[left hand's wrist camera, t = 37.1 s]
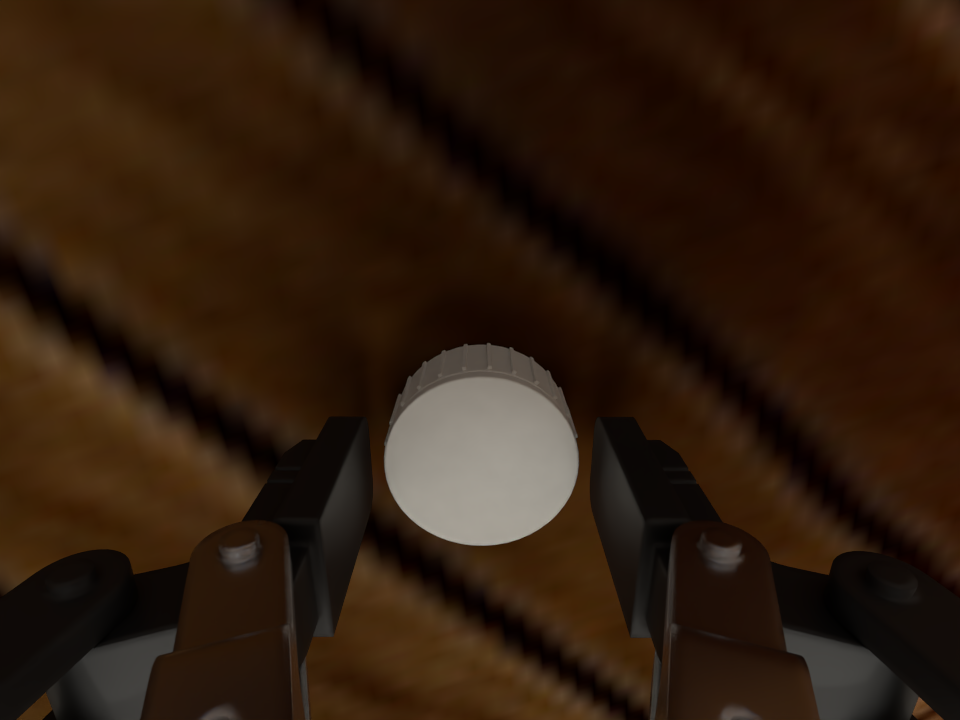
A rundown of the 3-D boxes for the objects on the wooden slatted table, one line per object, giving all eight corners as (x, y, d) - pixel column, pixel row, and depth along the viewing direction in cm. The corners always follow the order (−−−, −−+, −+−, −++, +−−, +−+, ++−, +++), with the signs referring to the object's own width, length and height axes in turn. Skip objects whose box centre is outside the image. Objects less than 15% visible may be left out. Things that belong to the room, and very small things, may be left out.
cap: (363, 382, 13) (344, 421, 11) (528, 312, 12) (536, 341, 11) (440, 518, 14) (434, 572, 12) (593, 460, 14) (610, 508, 12)
